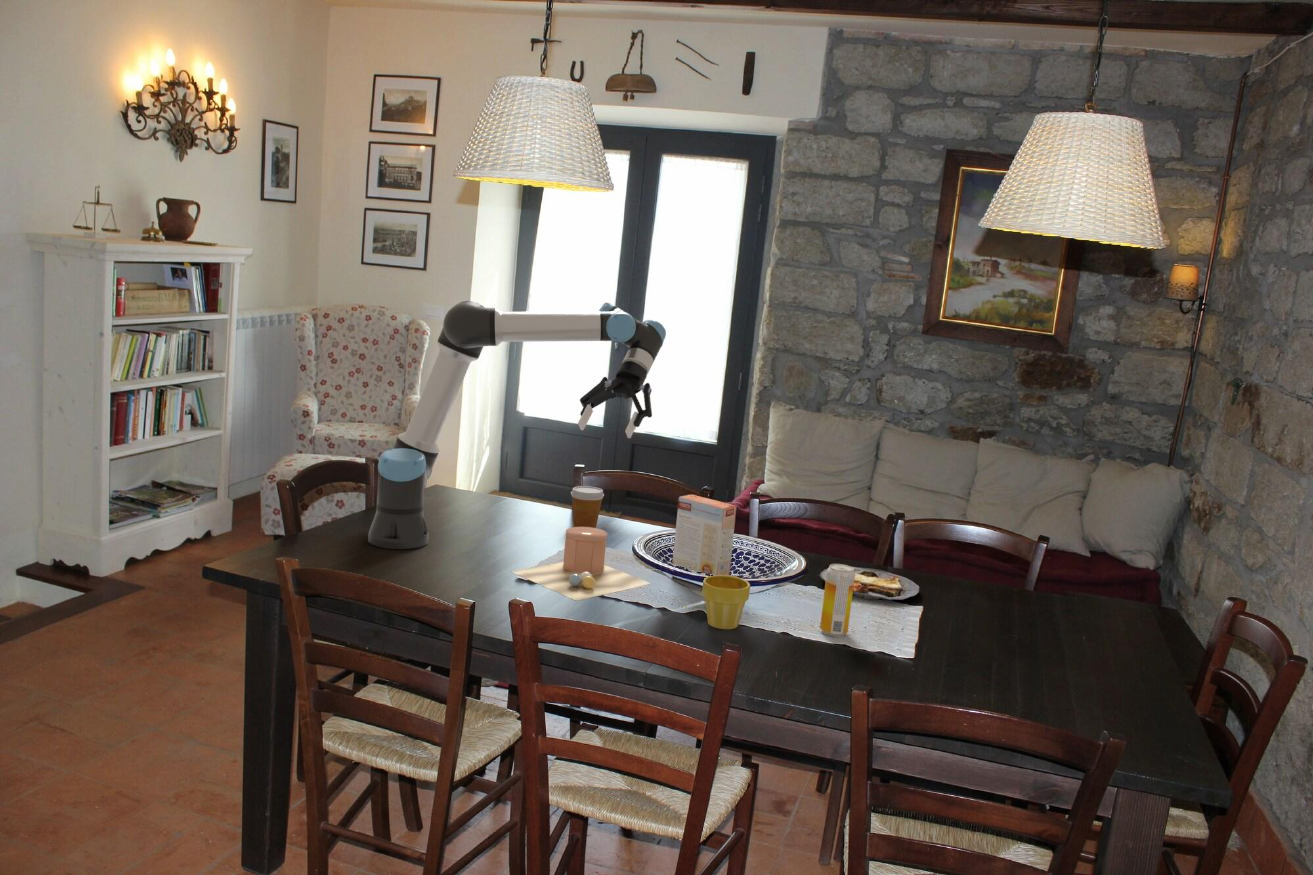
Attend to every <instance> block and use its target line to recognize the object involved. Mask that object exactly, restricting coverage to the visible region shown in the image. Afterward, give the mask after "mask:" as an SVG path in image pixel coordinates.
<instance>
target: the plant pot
mask: <svg viewBox="0 0 1313 875" xmlns="http://www.w3.org/2000/svg"><path fill="white" fill-rule="evenodd" d="M750 591H751V583H750V582H749V581H748V580H746V579H744V578H741V577H737V576H733V575H729V576H727V575H713V576H708V577H706V578H704V580H703V587H702V592H701V594H702V597H703V598H704V601H705V608H706V617H707V624H708V625H709V626H711V627H712V628H715V629H719V630H733V629H734V630H735V629H736V628H738V627H739V624H740V620H741V617H742V614H743V611H744V608H745V604H746V603H747V602H748V600H749V598H750Z"/></svg>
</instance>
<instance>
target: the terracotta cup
mask: <svg viewBox="0 0 1313 875" xmlns="http://www.w3.org/2000/svg"><path fill="white" fill-rule="evenodd" d="M564 540H565V541H564V551H563V552H564V553H563V554H564V555H563V562H564V563H563V568H564V569H567V570H569V571H571V572H574V573H583V572H589V573H590V574H593V573H598V572H603V570H604V565H605V559H606V549H607V548H606V547H607V540H608V532H607V531H605V530H604V529H600V528H597V527H596V528H592V527H574V526H572V527H568V528H567V529H565V539H564Z"/></svg>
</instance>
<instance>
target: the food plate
mask: <svg viewBox="0 0 1313 875" xmlns="http://www.w3.org/2000/svg"><path fill="white" fill-rule="evenodd" d="M851 567H852V568H854V573H855V579H854V587H853V595H854V596H857V597H859V598H863V599H875V600H879V599H881V600H891V601H892V600H905V599H908V598H910V597H914V596H916V595H917V594H918V593H919V592H920V586H919V585H918V584H916V583H915V582H913V580H911V579H909V578H907V577H904V576H901V575H897V574H893V573H891V572H889V571H886V570H882V569H876V568H869V567H868V568H867V567H857V566H851ZM827 569H828V568H825V569H823V570H822V571H821V572H820V573H819V576H818V577H819V578H820V579H821V580H823V582H824V583H826V575H827ZM899 593H900V595H899ZM888 596H889V597H888Z"/></svg>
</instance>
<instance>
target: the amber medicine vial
mask: <svg viewBox="0 0 1313 875" xmlns="http://www.w3.org/2000/svg"><path fill="white" fill-rule="evenodd" d="M852 567H853V566H850V565H848V564H842V563H831V564H830V565H829V567H828V568H826V569H827V575H826V582H824V583H825V584H824V592H823V602H822V608H821V616H820V623H819V624H820V625H819V628H820V630H821V632H822V633H823V634H825V635H827V636H830V637H833V638H834V637H835V638H838V637H839V638H840V637H844V636H846V634H847V633H848V631H849V624H850V617H851V610H852V609H851V608H852V601H853V595H854V594H853V587H854V579H855V573H854V568H852Z"/></svg>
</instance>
